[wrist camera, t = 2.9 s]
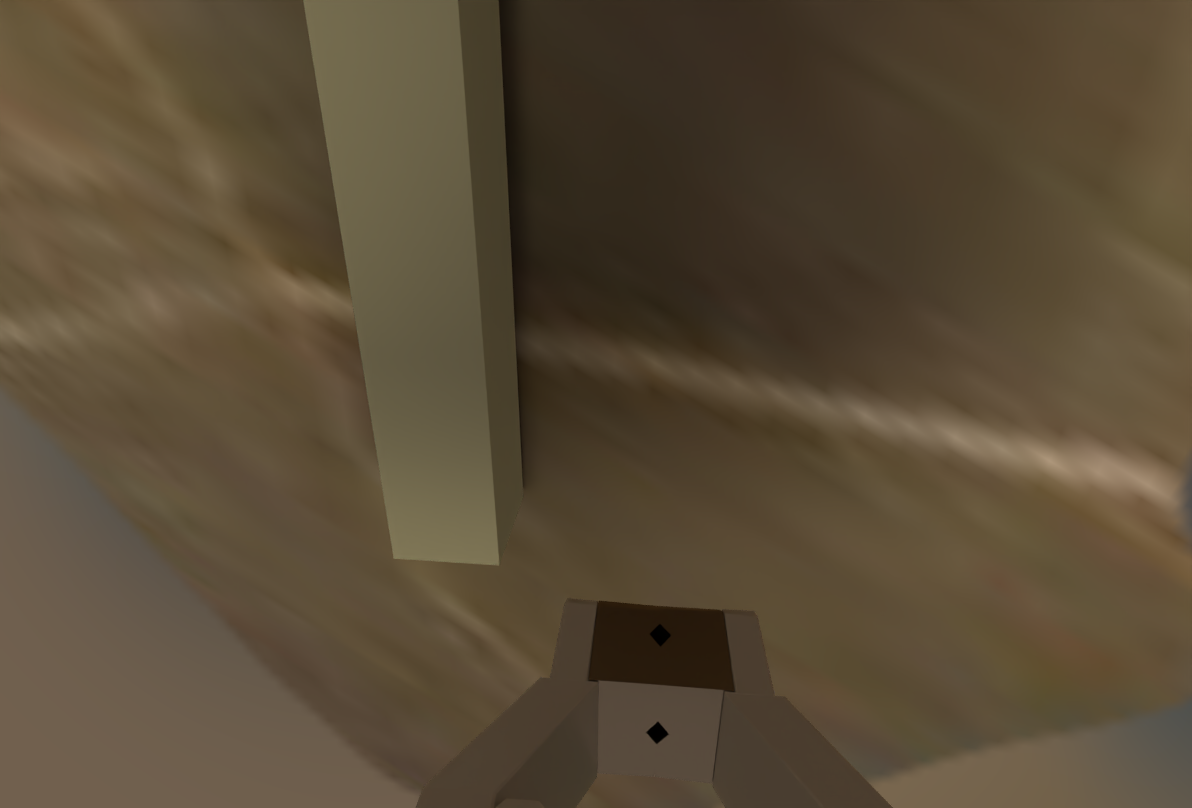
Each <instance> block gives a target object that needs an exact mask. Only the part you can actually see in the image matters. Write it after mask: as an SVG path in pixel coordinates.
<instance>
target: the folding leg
mask: <svg viewBox="0 0 1192 808" xmlns="http://www.w3.org/2000/svg"><path fill="white" fill-rule="evenodd" d="M303 2H304V9H305V15H306V21H307V27H308V33H309V39H310V45H311V52H312V58H313V64H314V70H315V76H316V82H317V89H318V95H319V101H320V107H321V113H322V119H323V126H324V132H325V138H326V144H327V150H328V156H329V163H330V169H331V175H332V181H333V187H334V193H335V199H336V206H337V212H338V218H339V224H340V230H341V236H342V243H343V249H344V255H345V261H346V267H347V273H348V280H349V286H350V292H351V298H352V304H353V310H354V316H355V323H356V329H357V335H358V341H359V347H360V353H361V360H362V366H363V372H364V378H365V384H366V390H367V397H368V403H369V409H370V415H371V421H372V427H373V433H374V440H375V446H376V452H377V458H378V464H379V470H380V477H381V483H382V489H383V495H384V501H385V507H386V514H387V520H388V526H389V532H390V538H391V544H392V550H393V557H394V559H409V560H425V561H440V562H456V563H471V564H487V565H500V562H501V559H502V556H503V553H504V550H505V548H506V545H507V542H508V539H509V536H510V533H511V530H512V528H513V525H514V522H515V519H516V516H517V513H518V510H519V508H520V505H521V502H522V499H523V479H522V459H521V439H520V419H519V399H518V379H517V359H516V339H515V319H514V299H513V278H512V258H511V238H510V218H509V198H508V178H507V158H506V138H505V118H504V98H503V78H502V57H501V37H500V17H499V0H303Z"/></svg>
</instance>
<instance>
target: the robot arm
mask: <svg viewBox="0 0 1192 808" xmlns="http://www.w3.org/2000/svg"><path fill="white" fill-rule="evenodd" d="M597 773H601V774H618V775H635V776H652V777H654V774H655V777H661V778H669V779H678V780H686V781H695V782H703V783H712V784H713V788H714V790H715V792H716V793H717V795H718V796H719V798H720V800H721V801H722V803H723V805H724V806H725V808H893V807H892V806H891V805H890V804H889V803H888V802H887V801H886V800H885V799H884V798H883V797H882V796H881V795H880V794H879V793H878V792H877V791H876V790H875V789H874V788H873V787H872V786H871V785H870V784H869V783H868V782H867V781H866V780H865V779H864V778H863V776H862V775H861V774H860V773H859V772H858V771H857V770H856V769H855V768H854V767H853V766H852V765H851V764H850V763H849V762H848V761H847V760H846V759H845V758H844V757H843V756H842V755H841V754H840V753H839V752H838V751H837V750H836V749H835V748H834V747H833V746H832V745H831V743H830V742H829V741H828V740H827V739H826V738H825V737H824V736H823V735H822V734H821V733H820V732H819V731H818V730H817V729H816V728H815V727H814V726H813V725H812V724H811V723H810V722H809V721H808V720H807V719H806V718H805V717H804V716H803V715H802V714H801V713H800V712H799V710H798V709H797V708H796V707H795V706H794V705H793V704H792V703H791V702H790V701H789V700H788V699H787V698H786V697H783V696H775V694H774V689H773V684H772V680H771V675H770V671H769V666H768V662H767V657H766V652H765V648H764V643H763V639H762V634H761V630H760V625H759V620H758V616H757V614H756V613H755V612H754V611H747V610H727V609H722V611H721V610H717V609H700V608H684V607H667V606H653V605H642V604H632V603H621V602H610V601H592V600H581V599H571V598H567V600H566V602H565V604H564V608H563V613H562V618H561V623H560V628H559V633H558V638H557V644H556V649H555V654H554V659H553V664H552V669H551V674H550V678H539V679H538V680H537V681H536V682H535V683H534V684H533V685H532V686H531V687H530V688H529V689H527V690H526V691H525V692H524V693H523V694H522V695H521V696H520V697H519V698H518V699H517V700H516V701H515V702H514V703H513V704H511V705H510V706H509V707H508V708H507V709H506V710H505V711H504V712H503V713H502V714H501V715H500V716H499V717H498V718H496V719H495V720H494V721H493V722H492V723H491V724H490V725H489V726H488V727H487V728H486V729H485V730H484V731H483V732H481V733H480V734H479V735H478V736H477V737H476V738H475V739H474V740H473V741H472V742H471V743H470V744H469V745H468V746H466V747H465V748H464V749H463V750H462V751H461V752H460V753H459V754H458V755H457V756H456V757H455V758H454V759H453V760H452V761H450V762H449V763H448V764H447V765H446V766H445V767H444V768H443V769H442V770H441V771H440V772H439V773H438V774H437V775H435V776H434V777H433V778H432V779H431V780H430V781H429V782H428V783H427V784H426V785H425V786H424V787H423V789H422V792H421V795H420V797H419V800H418V803H417V806H416V808H576V807H577V805H578V804H579V802H580V801H581V800H582V798H583V797H584V795H585V794H586V792H587V791H588V789H589V788H590V787H591V785H592V784H593V782H594V781H595V779H596V778H597Z"/></svg>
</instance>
